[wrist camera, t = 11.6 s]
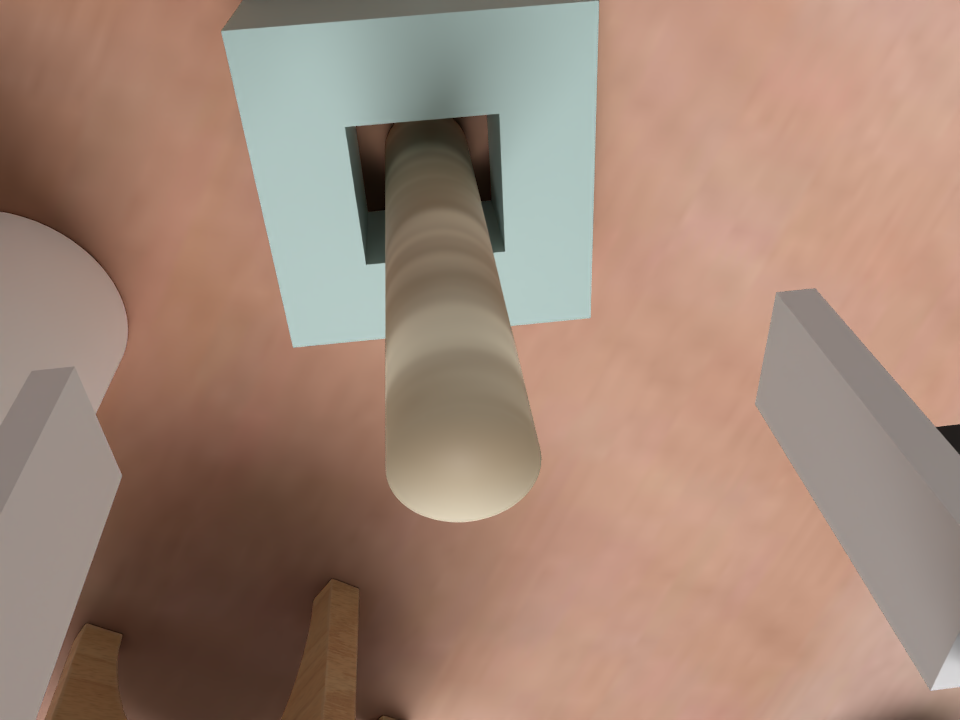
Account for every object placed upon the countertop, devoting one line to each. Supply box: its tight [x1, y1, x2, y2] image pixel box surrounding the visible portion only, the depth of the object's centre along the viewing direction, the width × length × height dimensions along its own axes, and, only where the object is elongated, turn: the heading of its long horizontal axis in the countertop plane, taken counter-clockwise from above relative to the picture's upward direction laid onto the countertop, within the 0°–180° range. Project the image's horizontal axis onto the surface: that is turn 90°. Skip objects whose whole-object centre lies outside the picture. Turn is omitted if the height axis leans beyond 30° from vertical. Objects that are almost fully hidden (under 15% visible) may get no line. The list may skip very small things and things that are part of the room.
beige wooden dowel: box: [385, 118, 541, 522], centre depth 21 cm, size 3×3×16 cm
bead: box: [221, 0, 599, 348], centre depth 26 cm, size 10×10×4 cm
